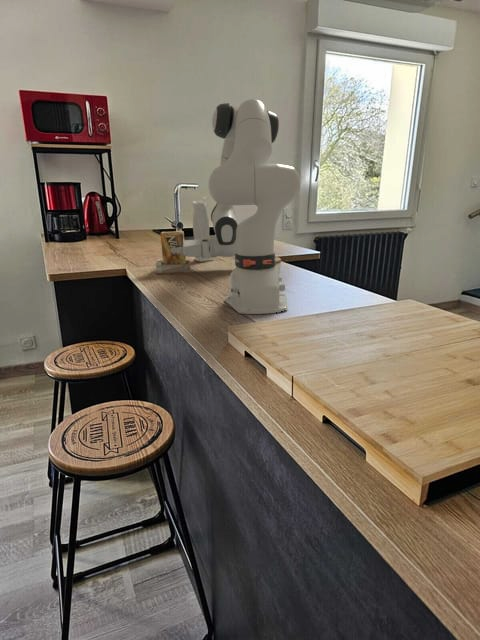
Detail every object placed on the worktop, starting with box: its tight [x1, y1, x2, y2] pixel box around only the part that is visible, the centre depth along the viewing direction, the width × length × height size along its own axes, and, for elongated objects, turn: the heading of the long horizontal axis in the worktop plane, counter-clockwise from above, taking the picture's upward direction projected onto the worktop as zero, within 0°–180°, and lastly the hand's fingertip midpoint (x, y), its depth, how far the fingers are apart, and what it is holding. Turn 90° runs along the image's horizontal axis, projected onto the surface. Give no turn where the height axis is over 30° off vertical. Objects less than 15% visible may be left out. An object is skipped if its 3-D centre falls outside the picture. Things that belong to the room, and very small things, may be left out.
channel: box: [155, 258, 191, 276], centre depth 171 cm, size 10×13×4 cm
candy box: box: [160, 230, 187, 265], centre depth 170 cm, size 9×4×15 cm, turn 92°
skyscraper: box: [191, 196, 215, 263], centre depth 189 cm, size 8×8×28 cm
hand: (171, 248), depth 169 cm, fingers open, 8 cm apart
